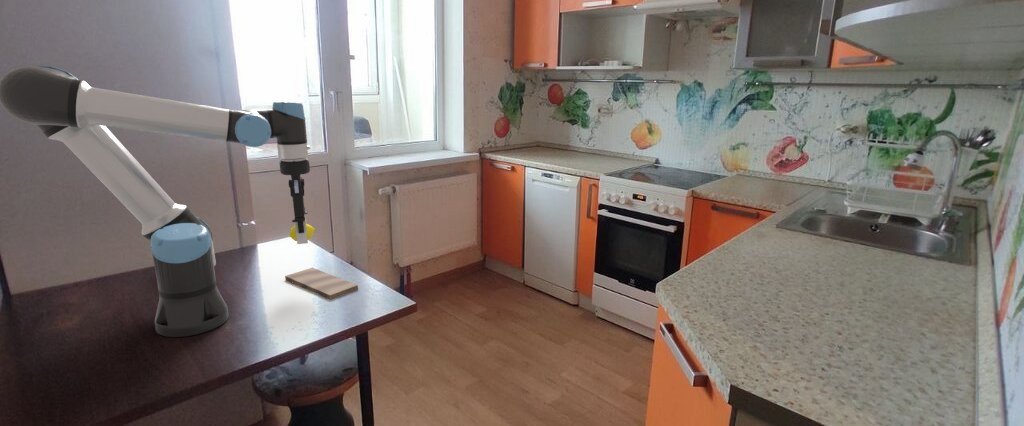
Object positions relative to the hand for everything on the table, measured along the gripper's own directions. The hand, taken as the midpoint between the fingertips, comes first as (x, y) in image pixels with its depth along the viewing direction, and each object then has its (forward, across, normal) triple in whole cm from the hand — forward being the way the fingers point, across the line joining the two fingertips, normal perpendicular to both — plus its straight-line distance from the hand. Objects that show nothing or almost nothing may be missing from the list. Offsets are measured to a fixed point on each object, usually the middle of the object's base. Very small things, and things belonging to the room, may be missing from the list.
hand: (302, 239), depth 146 cm
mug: (+13, +25, +32) cm, 43 cm away
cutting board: (+13, -2, -4) cm, 14 cm away
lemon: (+1, 0, 0) cm, 1 cm away
